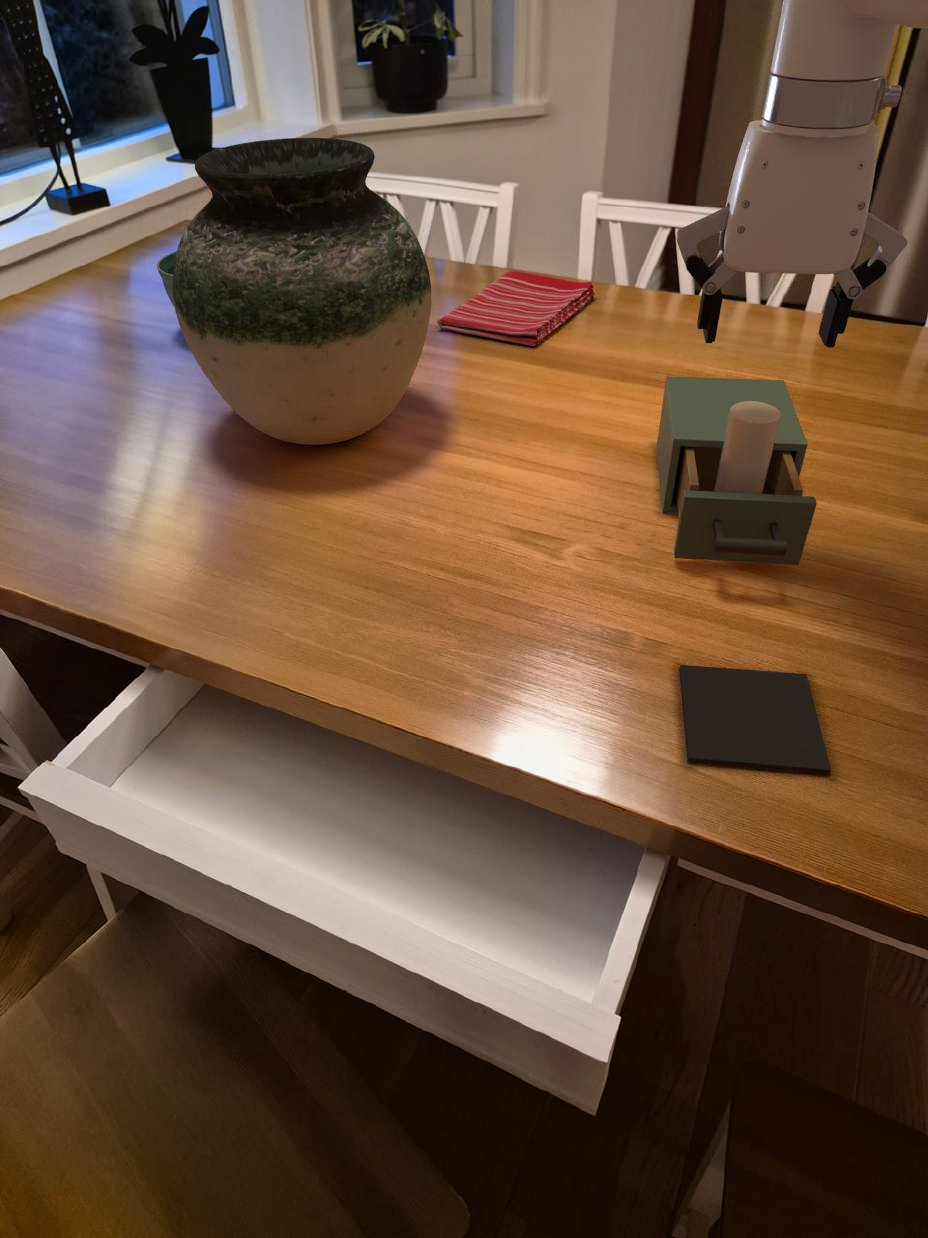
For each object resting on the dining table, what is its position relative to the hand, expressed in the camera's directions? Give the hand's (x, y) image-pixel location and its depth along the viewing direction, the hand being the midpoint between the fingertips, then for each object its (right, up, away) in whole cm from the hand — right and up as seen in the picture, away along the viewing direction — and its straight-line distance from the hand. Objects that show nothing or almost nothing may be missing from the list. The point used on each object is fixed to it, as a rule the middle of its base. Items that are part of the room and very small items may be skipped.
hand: (766, 339), depth 70 cm
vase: (-43, 0, +34) cm, 55 cm away
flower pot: (-62, +20, +58) cm, 87 cm away
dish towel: (-17, +24, +61) cm, 68 cm away
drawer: (+1, -15, +11) cm, 19 cm away
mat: (-4, -31, -6) cm, 32 cm away
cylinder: (+1, -14, +11) cm, 18 cm away
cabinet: (+2, -8, +21) cm, 23 cm away
